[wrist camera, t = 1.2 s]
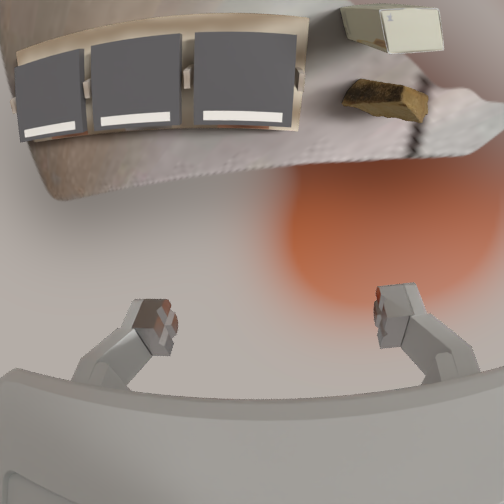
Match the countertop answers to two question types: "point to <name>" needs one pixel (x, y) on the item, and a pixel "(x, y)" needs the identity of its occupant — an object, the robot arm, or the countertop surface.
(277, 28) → the switch panel
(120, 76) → the panel
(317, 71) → the countertop surface
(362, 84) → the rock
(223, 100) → the rocker
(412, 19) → the skincare box
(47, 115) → the panel
